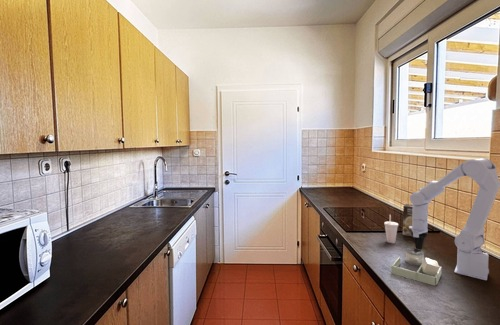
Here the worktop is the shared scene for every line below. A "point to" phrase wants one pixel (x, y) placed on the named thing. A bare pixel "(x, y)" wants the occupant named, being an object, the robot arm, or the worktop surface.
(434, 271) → the cube
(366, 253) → the worktop surface
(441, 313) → the worktop surface
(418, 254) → the tin
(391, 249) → the worktop surface
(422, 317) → the worktop surface
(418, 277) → the caddy
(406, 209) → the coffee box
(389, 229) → the smoothie
